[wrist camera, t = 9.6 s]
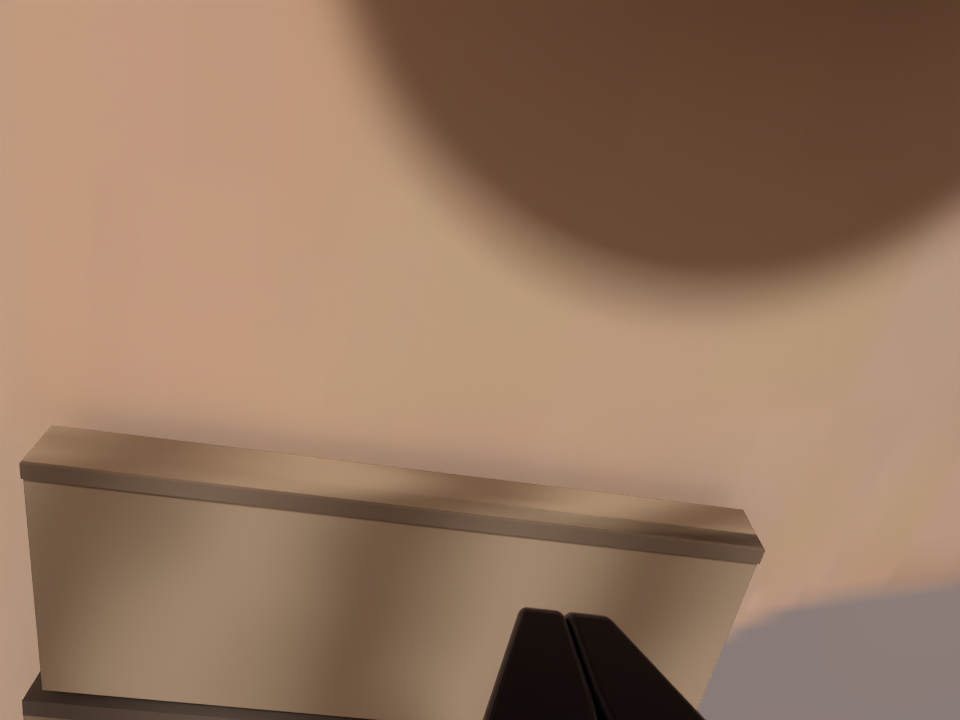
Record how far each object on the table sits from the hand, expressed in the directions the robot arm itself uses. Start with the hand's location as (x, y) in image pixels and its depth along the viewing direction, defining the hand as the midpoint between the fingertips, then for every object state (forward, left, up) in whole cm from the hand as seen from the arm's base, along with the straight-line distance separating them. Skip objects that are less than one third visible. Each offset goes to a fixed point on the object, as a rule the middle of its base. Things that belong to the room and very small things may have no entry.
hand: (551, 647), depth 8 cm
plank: (+1, +8, -12) cm, 14 cm away
